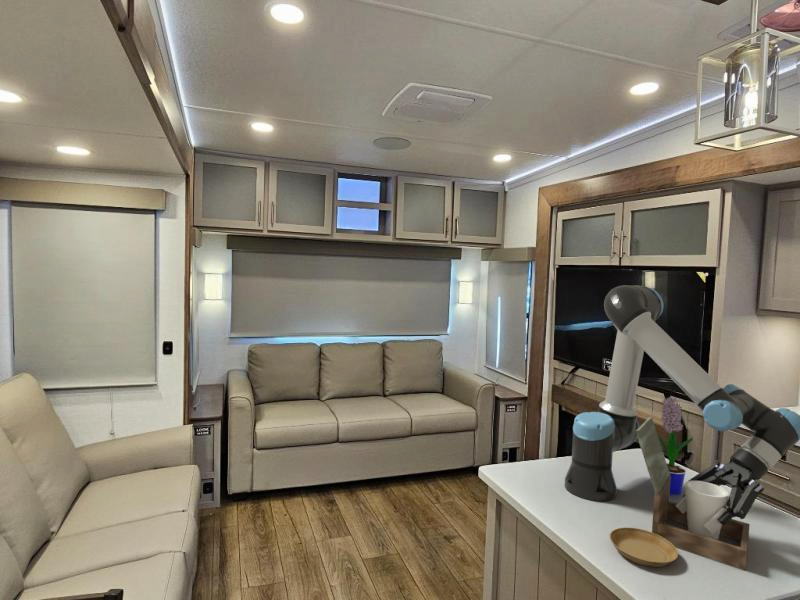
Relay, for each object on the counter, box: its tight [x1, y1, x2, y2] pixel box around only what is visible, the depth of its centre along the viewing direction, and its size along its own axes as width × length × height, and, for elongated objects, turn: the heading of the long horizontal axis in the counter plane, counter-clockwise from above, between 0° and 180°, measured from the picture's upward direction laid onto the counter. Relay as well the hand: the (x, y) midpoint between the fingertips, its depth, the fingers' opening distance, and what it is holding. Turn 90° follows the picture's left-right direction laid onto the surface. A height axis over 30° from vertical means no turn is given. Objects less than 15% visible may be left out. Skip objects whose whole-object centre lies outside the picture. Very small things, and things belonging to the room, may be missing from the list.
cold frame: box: [636, 416, 750, 571], centre depth 122 cm, size 25×16×27 cm, turn 52°
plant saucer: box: [609, 526, 679, 568], centre depth 115 cm, size 15×15×3 cm
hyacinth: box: [658, 396, 694, 496], centre depth 150 cm, size 9×10×30 cm
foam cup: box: [684, 480, 730, 541], centre depth 122 cm, size 10×9×13 cm
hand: (693, 519), depth 121 cm, fingers closed on foam cup, 9 cm apart
